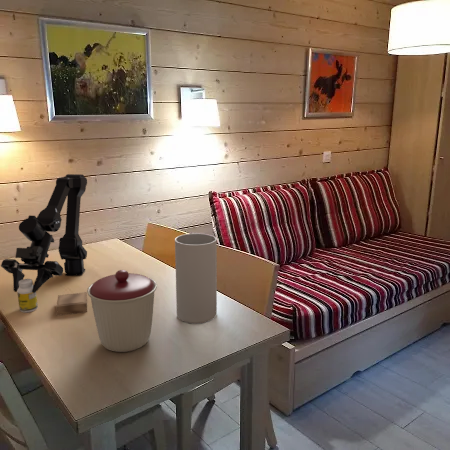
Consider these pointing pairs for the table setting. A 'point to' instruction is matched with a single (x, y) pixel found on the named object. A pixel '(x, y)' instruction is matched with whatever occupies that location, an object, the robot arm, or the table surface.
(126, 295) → the canister
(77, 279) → the table surface
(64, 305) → the square wooden block
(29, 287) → the supplement bottle
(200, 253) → the cylinder vase
